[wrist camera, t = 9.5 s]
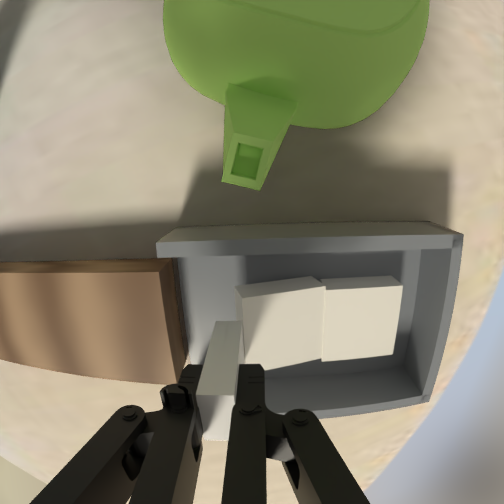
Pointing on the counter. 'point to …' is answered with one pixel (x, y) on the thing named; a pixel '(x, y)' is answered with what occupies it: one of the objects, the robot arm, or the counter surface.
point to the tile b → (360, 317)
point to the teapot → (290, 66)
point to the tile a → (281, 321)
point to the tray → (320, 267)
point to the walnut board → (93, 318)
